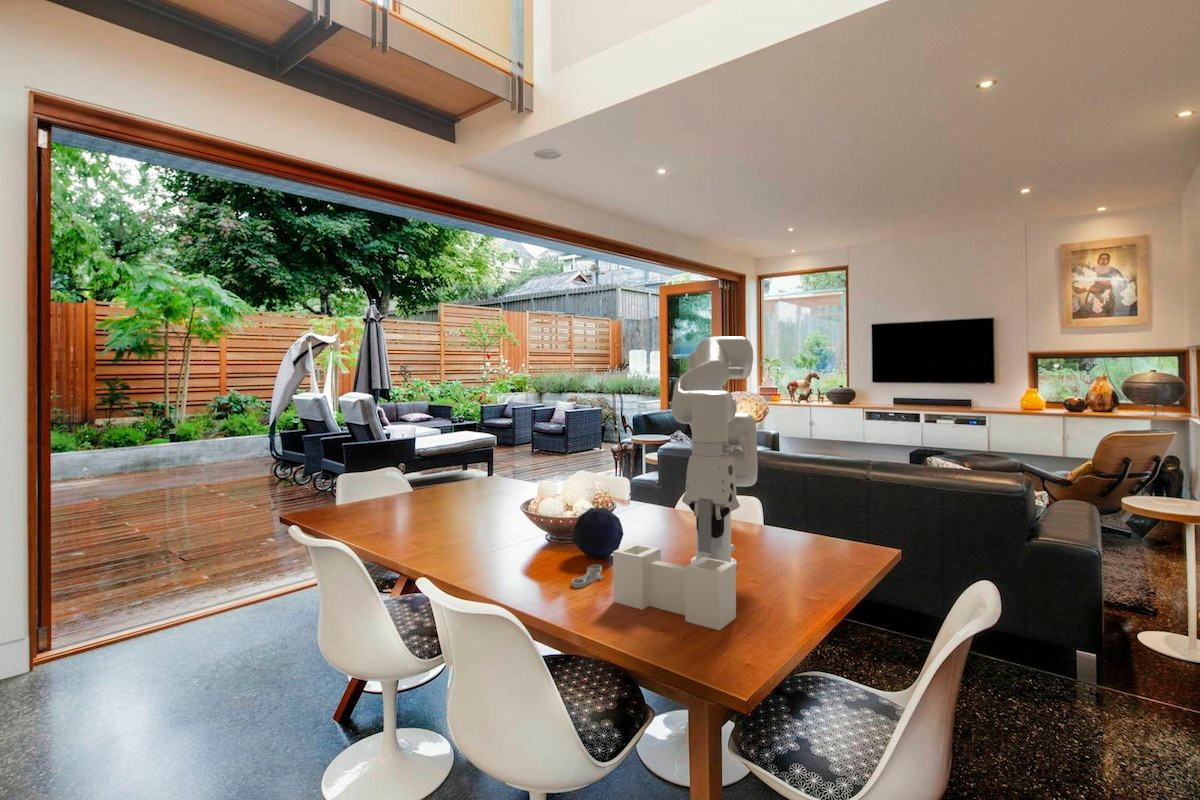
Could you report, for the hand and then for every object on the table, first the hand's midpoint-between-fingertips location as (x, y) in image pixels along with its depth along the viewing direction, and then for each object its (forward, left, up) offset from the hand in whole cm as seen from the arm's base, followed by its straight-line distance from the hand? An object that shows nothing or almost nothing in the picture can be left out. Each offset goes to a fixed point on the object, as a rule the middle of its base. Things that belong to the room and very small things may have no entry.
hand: (710, 534), depth 129 cm
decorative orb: (-22, -48, -19) cm, 56 cm away
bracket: (-6, -38, -19) cm, 43 cm away
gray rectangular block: (0, 0, -3) cm, 3 cm away
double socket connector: (0, -10, -19) cm, 21 cm away
